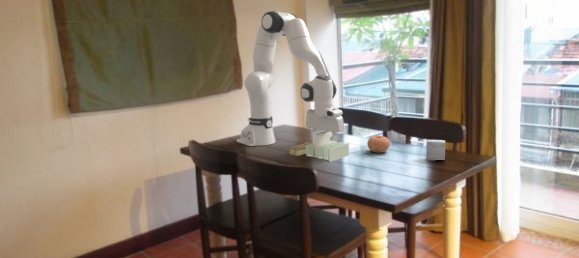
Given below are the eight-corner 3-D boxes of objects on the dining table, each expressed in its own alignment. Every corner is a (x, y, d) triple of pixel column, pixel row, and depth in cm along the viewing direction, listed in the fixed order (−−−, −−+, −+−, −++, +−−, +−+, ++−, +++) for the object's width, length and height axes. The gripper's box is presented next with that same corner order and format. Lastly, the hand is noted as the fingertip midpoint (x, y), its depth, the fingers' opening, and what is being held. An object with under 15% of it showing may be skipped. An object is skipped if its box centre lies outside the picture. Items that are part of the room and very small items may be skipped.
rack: (306, 157, 223) (305, 145, 222) (325, 150, 234) (325, 139, 233) (329, 162, 214) (329, 149, 213) (348, 155, 225) (348, 142, 224)
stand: (288, 155, 228) (288, 147, 227) (309, 148, 239) (309, 141, 238) (297, 157, 224) (297, 149, 223) (319, 150, 235) (318, 142, 234)
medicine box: (444, 158, 214) (445, 140, 212) (444, 161, 209) (445, 142, 208) (426, 157, 216) (427, 139, 214) (426, 160, 212) (426, 141, 210)
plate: (314, 156, 221) (314, 131, 219) (331, 150, 230) (331, 126, 228) (317, 157, 220) (316, 131, 218) (334, 151, 229) (333, 127, 227)
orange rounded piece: (380, 147, 237) (380, 132, 235) (394, 152, 227) (394, 136, 226) (362, 151, 232) (362, 135, 230) (376, 155, 222) (376, 139, 221)
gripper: (302, 109, 225) (303, 137, 228) (337, 113, 212) (337, 143, 215) (311, 107, 230) (311, 135, 233) (345, 111, 216) (345, 140, 219)
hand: (324, 139), depth 224 cm, fingers open, 8 cm apart
